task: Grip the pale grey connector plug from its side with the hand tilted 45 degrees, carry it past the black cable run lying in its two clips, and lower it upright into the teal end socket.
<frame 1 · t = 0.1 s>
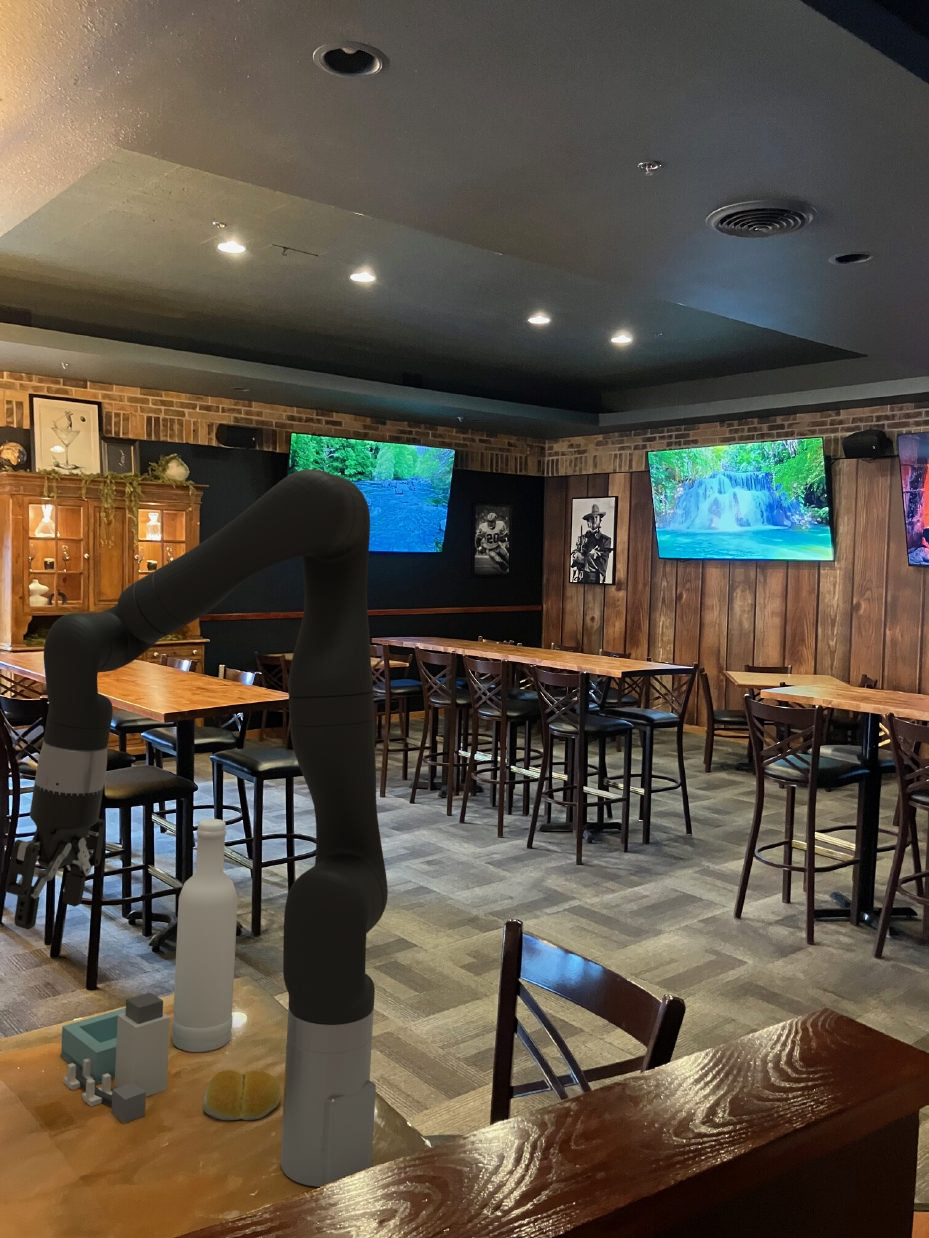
hand: (48, 914, 115), 22 cm above the table, tool pointing down, fingers open, 8 cm apart
bread roll: (239, 1107, 118), on the table
end socket: (113, 1058, 127), on the table
bottle: (201, 1040, 134), on the table
cable run: (97, 1098, 117), on the table
connector: (140, 1088, 120), on the table
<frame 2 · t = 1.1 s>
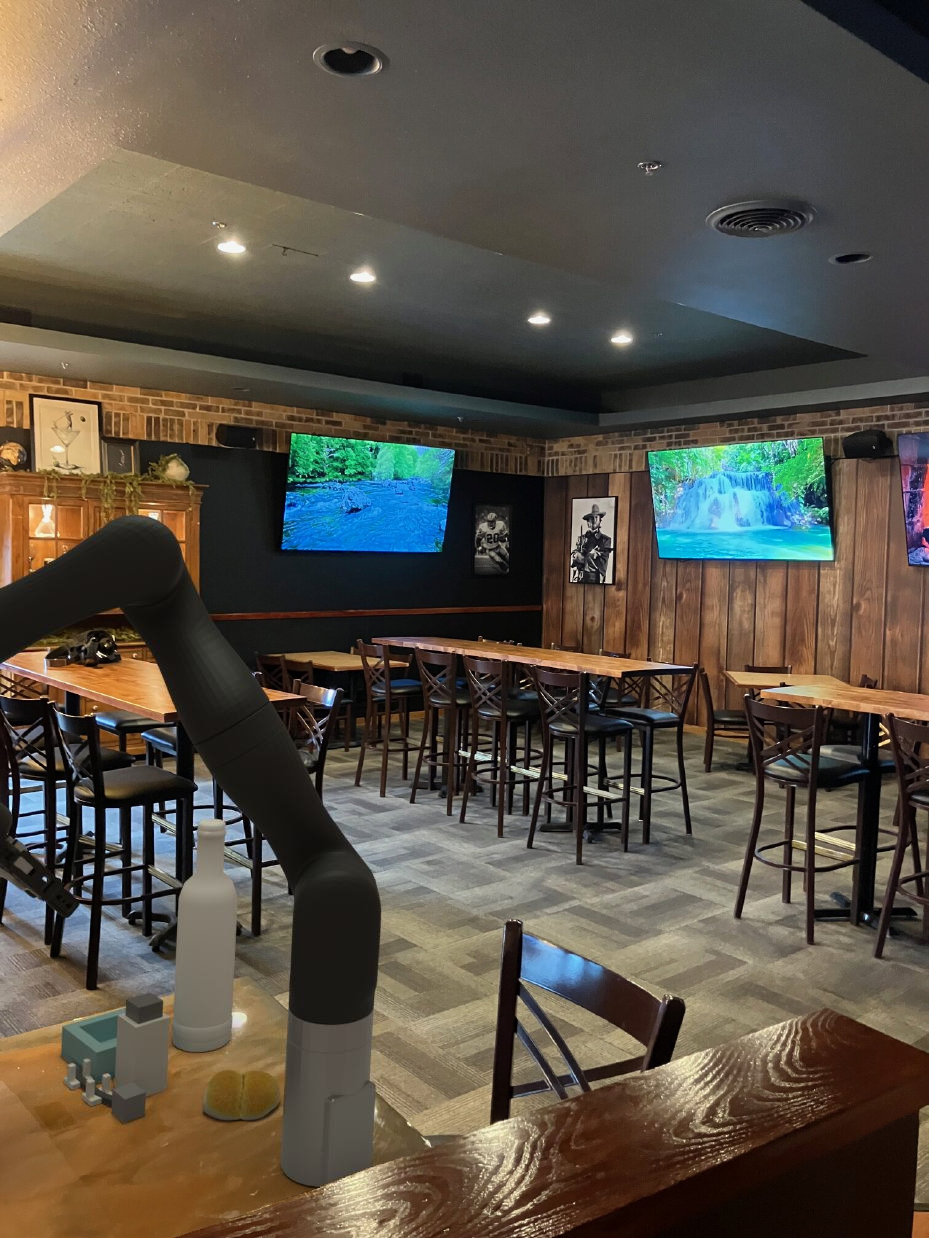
hand: (56, 900, 111), 25 cm above the table, tool tilted 45°, fingers open, 8 cm apart
nothing on the table moved.
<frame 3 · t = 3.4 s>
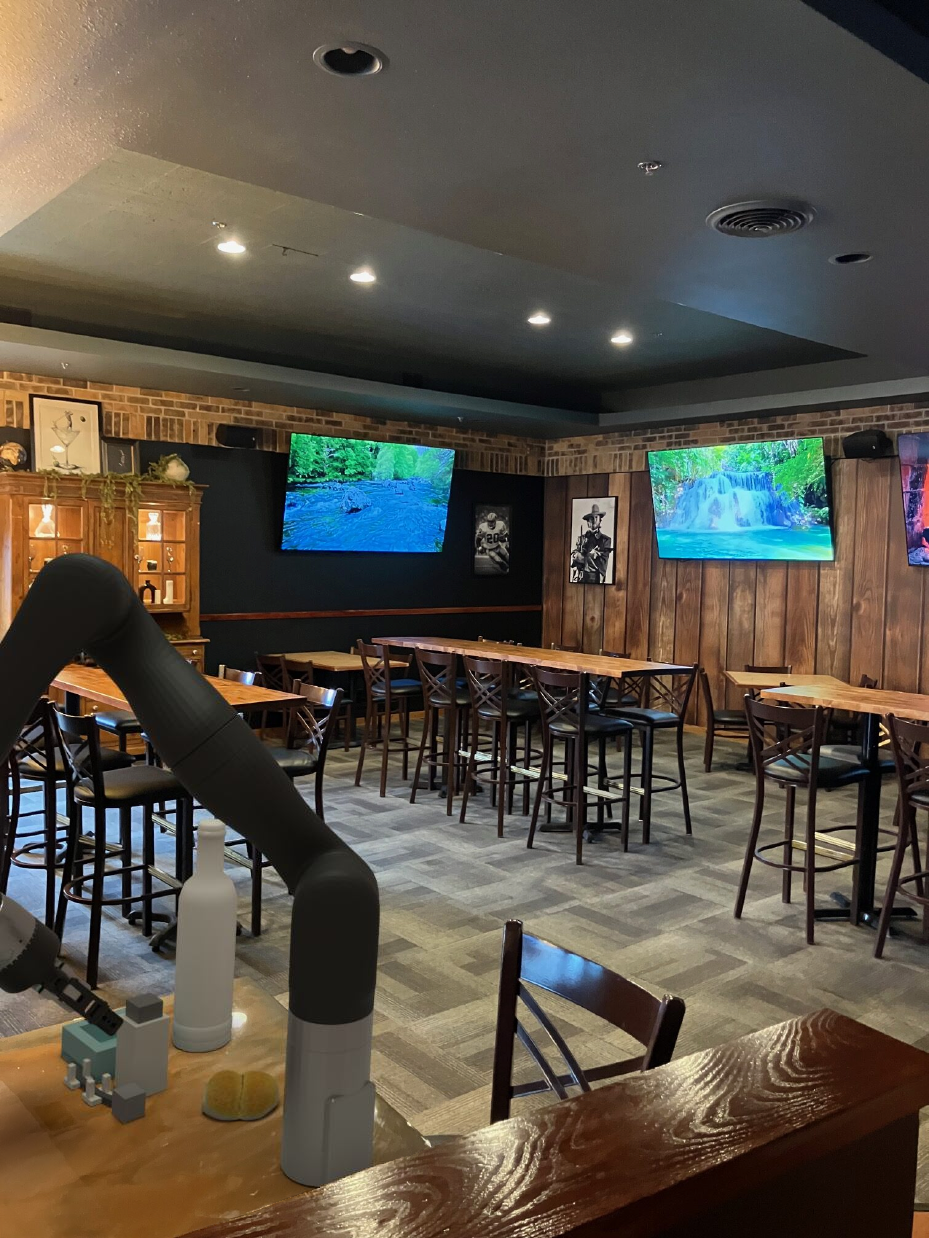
hand: (99, 1015, 116), 11 cm above the table, tool tilted 45°, fingers open, 8 cm apart
nothing on the table moved.
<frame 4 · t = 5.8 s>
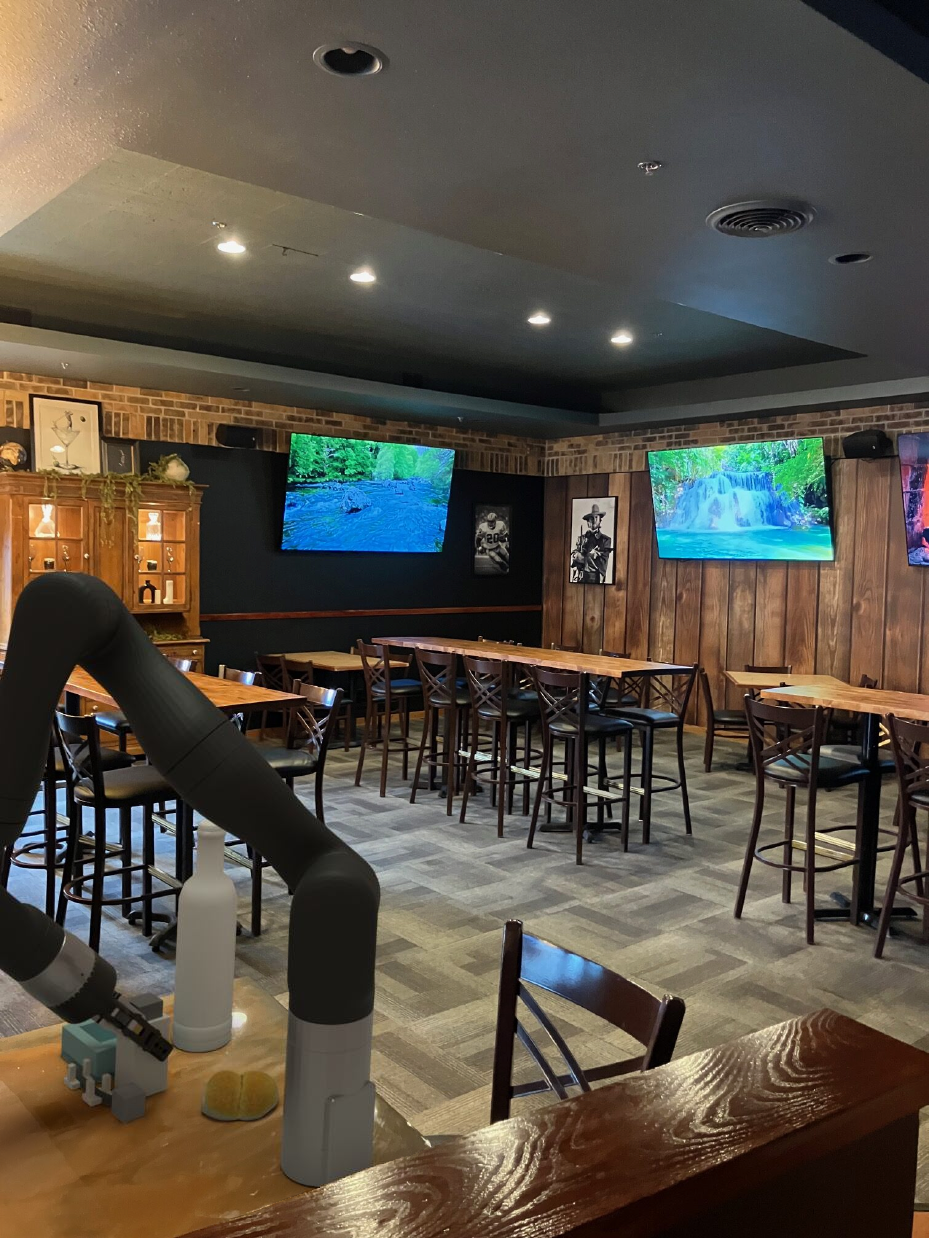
hand: (156, 1046, 122), 5 cm above the table, tool tilted 45°, fingers closed on connector, 4 cm apart
connector: (140, 1087, 120), on the table, touching gripper
everything else where it was.
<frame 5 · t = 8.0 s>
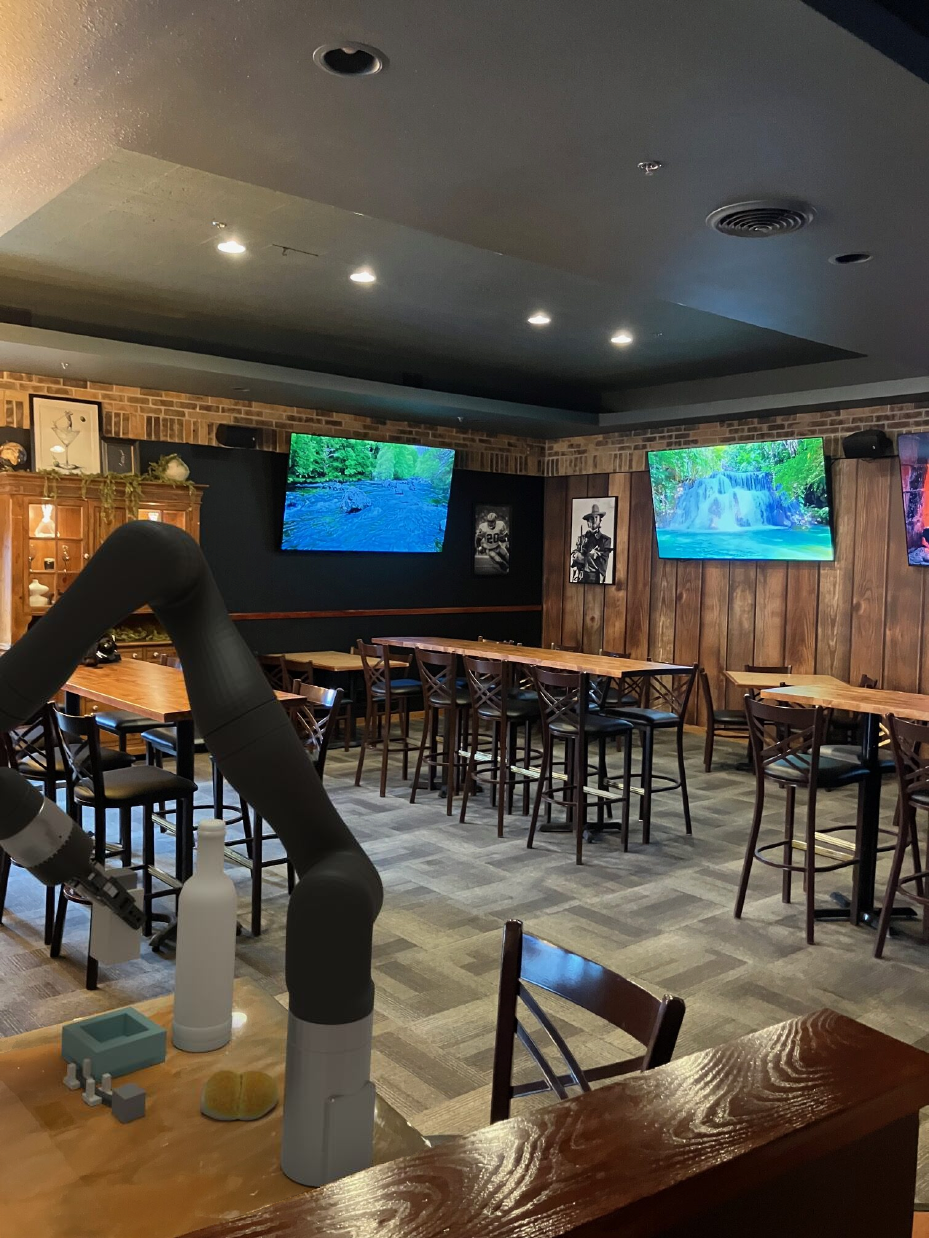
hand: (130, 917, 127), 18 cm above the table, tool tilted 45°, fingers closed on connector, 4 cm apart
connector: (114, 956, 126), point 14 cm above the table, touching gripper
everything else where it was.
when the fingers open (7 cm above the table, at t = 10.6 s): connector drops 1 cm, resting on end socket.
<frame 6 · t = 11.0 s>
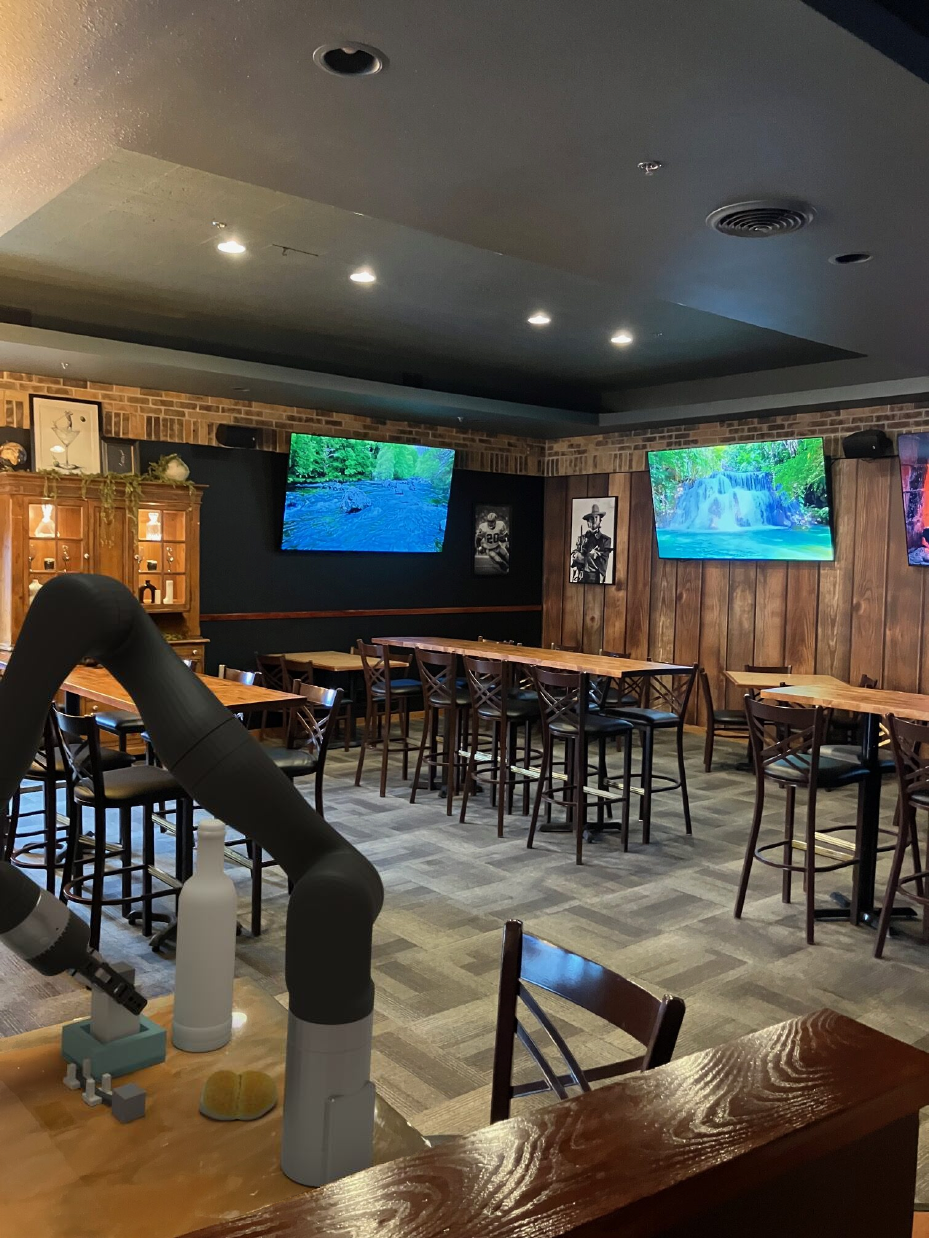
hand: (125, 997, 128), 8 cm above the table, tool tilted 45°, fingers open, 8 cm apart
connector: (113, 1051, 127), point 1 cm above the table, touching end socket
everything else where it was.
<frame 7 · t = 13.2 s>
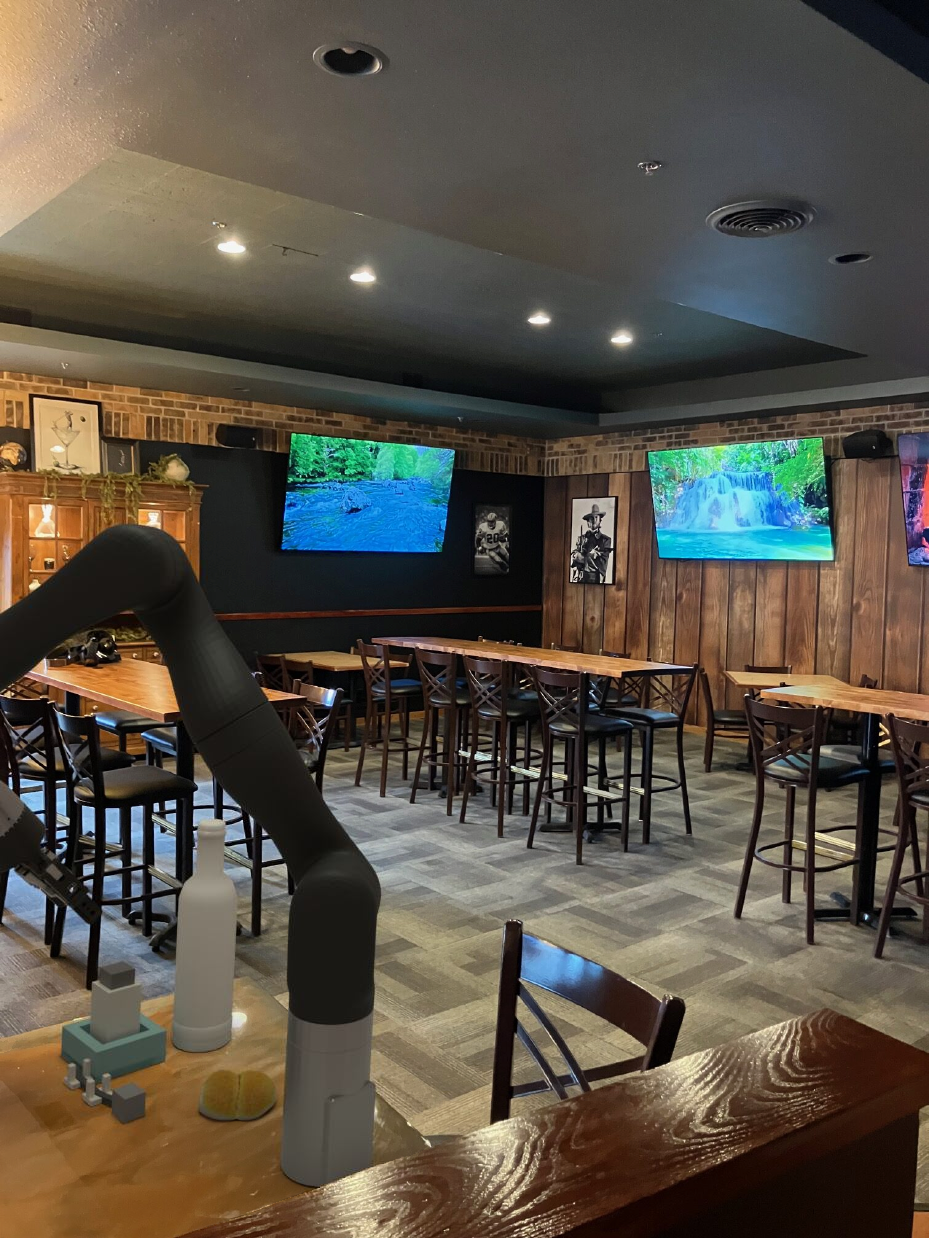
hand: (81, 909, 121), 21 cm above the table, tool tilted 40°, fingers open, 8 cm apart
nothing on the table moved.
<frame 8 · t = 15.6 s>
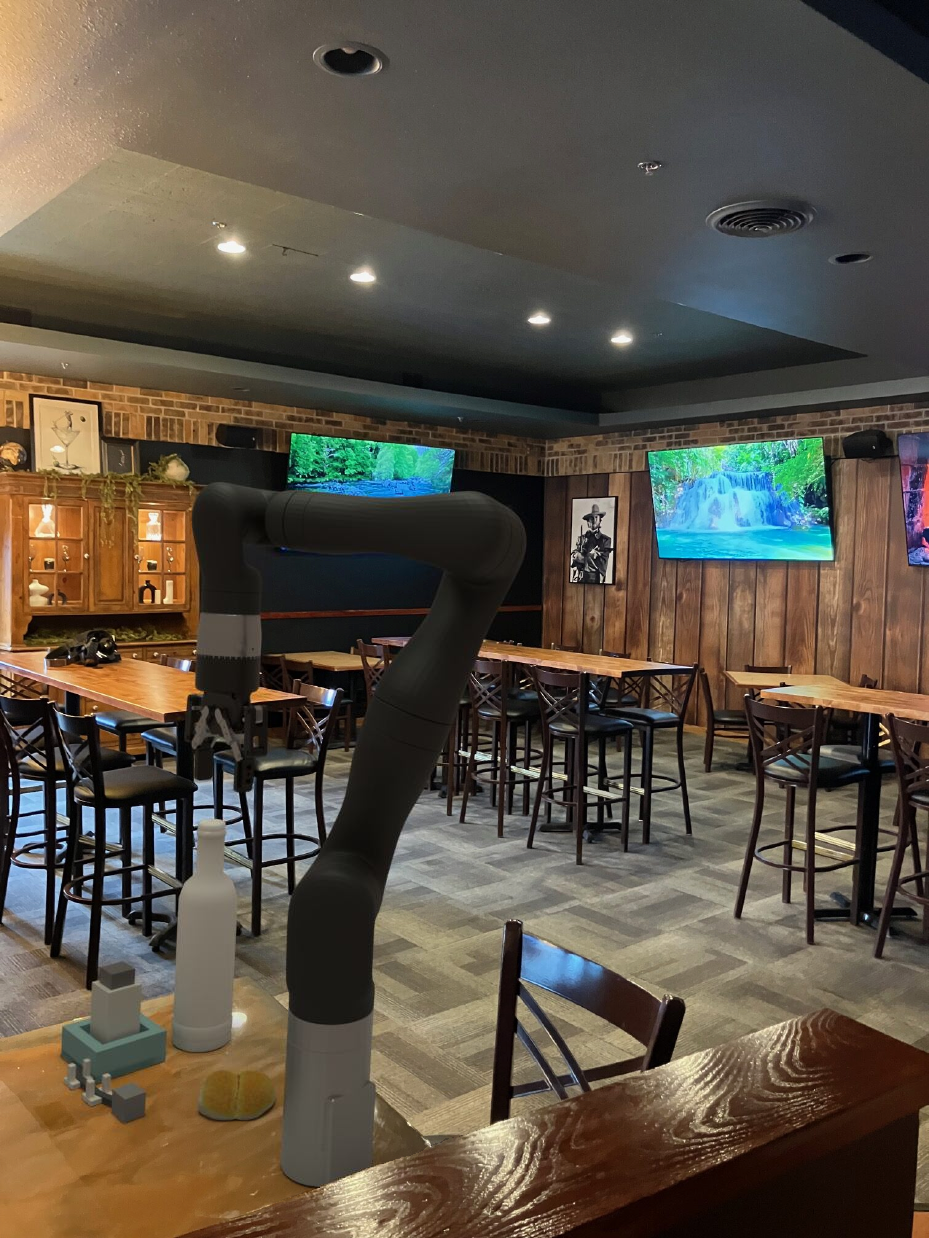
hand: (222, 785, 118), 38 cm above the table, tool pointing down, fingers open, 8 cm apart
nothing on the table moved.
at the end: connector 0.2 cm off-centre on the end socket, point 1.0 cm above the end socket's base; connector tilted 0°; the gripper is holding nothing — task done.
